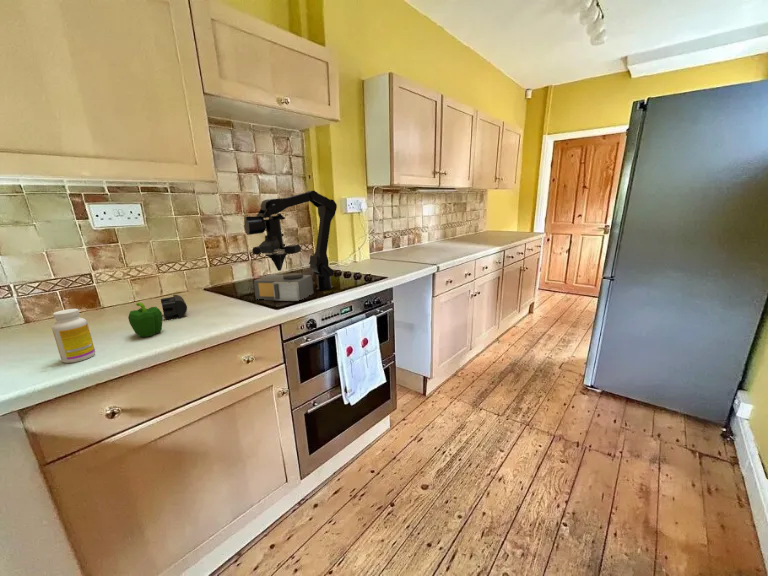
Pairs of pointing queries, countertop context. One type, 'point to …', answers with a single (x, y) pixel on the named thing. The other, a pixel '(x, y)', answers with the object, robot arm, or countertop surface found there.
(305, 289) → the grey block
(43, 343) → the countertop surface
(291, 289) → the side door
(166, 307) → the end cap
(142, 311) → the bell pepper
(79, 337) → the supplement bottle
